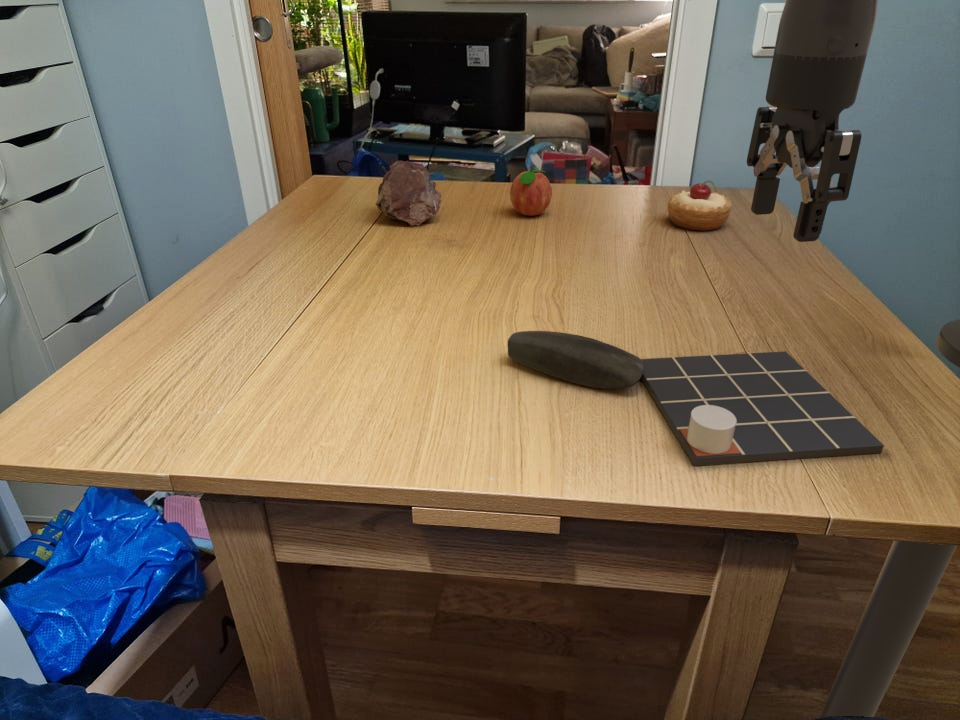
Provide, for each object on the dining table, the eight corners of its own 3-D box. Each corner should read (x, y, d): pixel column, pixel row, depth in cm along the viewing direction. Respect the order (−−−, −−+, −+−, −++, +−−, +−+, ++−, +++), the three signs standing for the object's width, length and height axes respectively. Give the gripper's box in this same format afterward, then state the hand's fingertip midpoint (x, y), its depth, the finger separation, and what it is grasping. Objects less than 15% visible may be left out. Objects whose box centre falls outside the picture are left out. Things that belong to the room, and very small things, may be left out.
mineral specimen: (391, 247, 135) (389, 204, 144) (450, 226, 132) (444, 184, 142) (365, 203, 126) (365, 160, 136) (427, 180, 124) (423, 138, 134)
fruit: (500, 215, 137) (501, 166, 132) (525, 204, 144) (527, 158, 139) (535, 223, 133) (537, 173, 128) (559, 211, 140) (562, 163, 135)
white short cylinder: (720, 427, 70) (725, 403, 69) (738, 452, 66) (744, 428, 65) (680, 429, 70) (684, 406, 68) (696, 455, 66) (701, 430, 64)
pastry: (688, 211, 140) (694, 168, 136) (739, 224, 132) (748, 179, 128) (653, 222, 133) (659, 178, 129) (705, 237, 125) (713, 190, 121)
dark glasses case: (647, 373, 82) (651, 343, 80) (636, 399, 77) (640, 368, 75) (517, 346, 88) (518, 318, 86) (499, 369, 83) (500, 340, 81)
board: (783, 357, 85) (785, 350, 85) (881, 453, 68) (884, 444, 67) (632, 366, 83) (633, 358, 83) (693, 466, 66) (695, 457, 66)
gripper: (915, 55, 53) (860, 248, 61) (815, 41, 65) (781, 203, 73) (826, 58, 52) (782, 253, 60) (742, 43, 64) (716, 207, 72)
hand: (782, 226), depth 67 cm, fingers open, 8 cm apart
